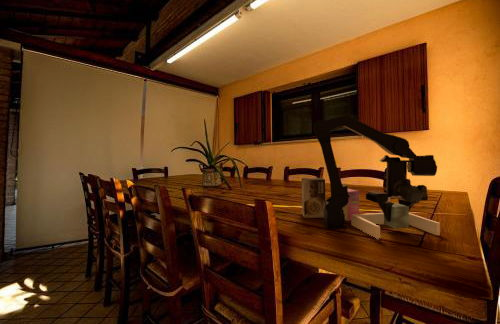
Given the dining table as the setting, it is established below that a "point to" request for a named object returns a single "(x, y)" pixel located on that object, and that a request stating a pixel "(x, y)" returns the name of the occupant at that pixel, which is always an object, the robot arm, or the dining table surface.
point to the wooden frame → (371, 219)
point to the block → (398, 216)
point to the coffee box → (313, 197)
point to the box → (352, 204)
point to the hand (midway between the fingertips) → (395, 221)
